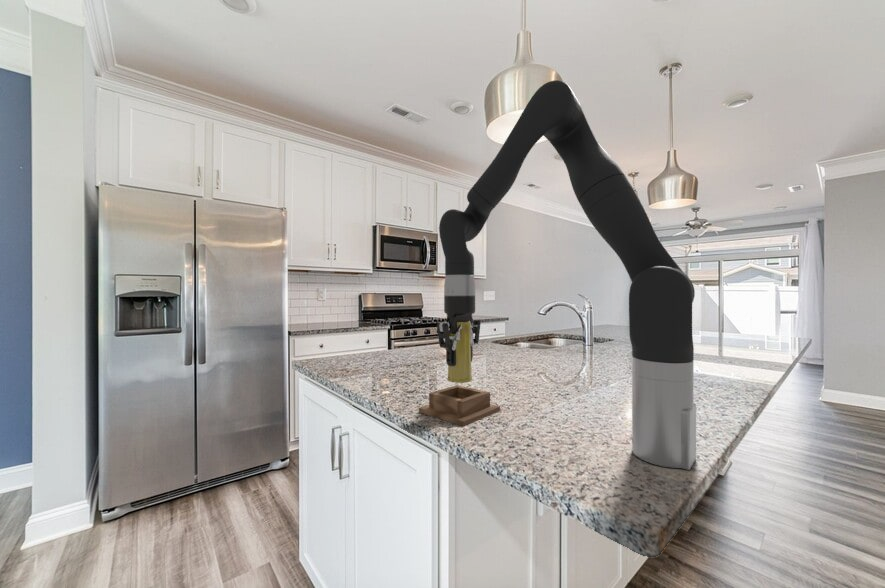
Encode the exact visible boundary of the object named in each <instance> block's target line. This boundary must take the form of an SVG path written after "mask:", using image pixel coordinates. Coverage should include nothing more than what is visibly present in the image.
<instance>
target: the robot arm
mask: <svg viewBox="0 0 885 588" xmlns="http://www.w3.org/2000/svg"><path fill="white" fill-rule="evenodd" d="M543 136H544V138H545V139H546V140H548V141H549V143H550V145H552V147H553V148H554V149H555V151H556V152H557V154H558V155H559V156H560V158H561V159H562V162H563V163H564V165H565V168H566V170H567V173H568V177H569V181H570V184H571V187H572V190H573V192H574V195H575V197H576V200H577V201H578V203H579V205H580V206H581V209H582V210H583V211H584V213H585V216H586V217H587V219H588V220H589V222H590V224H592V226H593V228H594V229H595V230H596V231H597V233H598V234H599V235H600V237H601V238H602V239H603V240H604V241H605V242H606V243H607V245H608V246H609V247H610V248H611V249H612V250H613V252H615V254H616V255H617V256H618V258H619V260H620V261H621V263H622V264H623V267H624V268H625V271H626V272H627V274H628V276H629V279H630V281H631V285H630V287H629V293H628V319H629V320H628V324H629V326H628V327H629V341H630V344H631V349H632V350H631V351H632V352H631V355H632V356H631V365H632V366H631V376H632V377H631V379H632V380H631V381H632V382H631V383H632V384H631V385H632V386H631V388H632V389H631V393H632V394H631V395H632V396H631V399H632V400H631V416H632V417H631V418H632V419H631V422H632V423H631V433H632V434H631V435H632V436H631V445H632V446H631V447H632V448H631V449H632V453H633V454H634V456H636V457H637V458H638V459H640V460H642V461H644V462H646V463H648V464H649V463H650V464H652V465H655V466H660V467H664V468H672V469H673V468H676V469H684V470H687V471H690V470H691V468H692V467H693V465H694V463H695V461H696V458H697V404H696V403H695V402H694V359H695V358H694V351H695V349H694V339H693V302H694V300H695V286H694V284H693V281H692V280H691V279H690V277H689V276H688V275H687V274H686V273H685V272H684V271H683V270H682V268H681V267H680V266H679V265H678V264H677V263H676V261H675V260H674V259H673V257H672V256H671V255H670V253H669V252H668V251H667V249H666V248H665V246H664V244H662V243H661V240H660V239H659V238H658V235H657V233H656V232H655V230H654V228H653V226H652V223H651V221H650V218H649V216H648V214H647V212H646V210H645V208H644V205H643V204H642V202H641V200H640V198H639V197H638V195H637V193H636V191H635V189H634V187H633V185H632V183H630V180H628V178H627V176H626V174H625V173H624V171H623V170H622V169H621V167H620V166H619V165H618V163H617V162H616V161H615V159H614V158H613V157H612V156H611V155H610V154H609V153H608V152H607V151H606V150H605V149H604V147H602V146H601V144H600V143H599V141H598V139H597V138H596V137H595V134H594V133H593V130H592V129H591V126H590V124H589V122H588V119H587V117H586V114H585V112H584V110H583V107H582V105H581V103H580V100H579V99H578V98H577V96H576V95H575V92H574V91H573V90H572V88H571V87H570V85H569V84H568V83H566V82H565V81H563V80H550V81H548V82H546V83H544V84H543V85H541V86H540V87H539V88H538V89H537V90H536V91H535V92H534V93H533V95H532V97H531V98H530V99H529V101H528V102H527V104H526V106H525V108H524V109H523V111H522V112H521V114H520V116H519V118H518V120H517V121H516V123H515V125H514V126H513V128H512V129H511V131H510V132H509V135H508V136H507V138H506V140H505V141H504V143H503V144H502V146H501V148H500V149H499V151H498V153H497V154H496V156H495V157H494V158H493V160H492V162H490V164H489V165H488V167H487V168H486V169H485V170H484V172H483V173H482V174H481V176H479V178H478V179H477V181H476V182H475V183H474V184H473V185H472V187H471V188H470V189H469V191H468V192H467V195H466V200H467V202H468V205H467V206H466V209H465V210H464V211H462V210H459V209H453V208H452V209H451V208H450V209H448V210H446V211H445V212H444V213H443V214H442V216H441V218H440V221H439V225H438V229H439V230H438V231H439V237H440V243H441V247H442V251H443V252H442V253H443V255H444V259H445V260H444V263H445V264H444V265H445V266H444V270H445V271H444V272H445V273H444V284H443V289H444V290H443V295H444V297H443V299H444V300H443V306H444V307H443V309H444V310H443V311H444V313H445V314H446V319H445V321H443V322H437V324H436V329H437V337H438V343H439V345H438V346H439V347H440V348H442V349H445V351H446V352H445V353H446V354H445V355H446V356H445V358H446V360H445V361H446V362H445V363H446V364H447V367H448V366H455V365H456V350H455V349H456V345H457V342H458V341H459V340H460V329H462V323H461V324H460V325H459V326H458V328H457V322H468V321H470V345H471V363H472V362H473V357H474V356H473V353H474V352H473V349H474V347H475V345H477V344H478V345H479V341H480V332H481V331H480V329H481V320H480V319H473V314H475V313H476V281H475V257H474V254H473V252H472V251H470V250H469V249H468V247H467V243H468V242H470V241H472V240H474V239H475V238H476V237H477V236H478V235H479V234H480V233H481V231H482V229H484V226H485V224H486V223H487V221H488V218H489V217H490V214H491V212H492V211H493V209H494V208H496V206H497V205H498V204H499V203H500V202H501V201H502V200H503V199H504V197H505V196H506V195H507V193H508V192H509V191H510V189H511V188H512V187H513V185H514V184H515V181H516V179H517V177H518V174H519V173H520V170H521V167H522V166H523V164H524V161H525V160H526V158H527V157H528V155H529V153H530V151H531V150H532V149H533V147H534V146H535V145H536V143H538V141H539V140H540V139H542V138H543ZM450 333H452V334H456V335H455V336H454V337H453V336H450V335H449V334H450ZM451 340H453V341H452V345H451V344H450V343H451Z"/></svg>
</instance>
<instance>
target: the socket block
mask: <svg viewBox="0 0 885 588" xmlns="http://www.w3.org/2000/svg"><path fill="white" fill-rule="evenodd" d="M418 412H419V413H421V414H425V415H427V416H430V417H434V418H437V419H440V420H443V421H446V422H449V423H453V424H455V425H459V426H461V427H465V426H467V425H470V424H472V423H475V422H478V421H479V420H481V419H484V418H486V417H489V416H491V415H493V414H495V413H497V412H501V405H500V406H499V405H496V404H492V403H491V391H487V390H481V389H478V388H477V389H476V388H471V387H467V386H462V385H459V384H457V385H453V386H449V387H446V388H442V389H438V390H435V391H433V392H429V394H428V404H426V405H423V406H420V407H418Z"/></svg>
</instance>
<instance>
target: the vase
mask: <svg viewBox="0 0 885 588" xmlns="http://www.w3.org/2000/svg"><path fill="white" fill-rule="evenodd" d="M461 323H462V329H460V340H459V341H458V342H457V345H456V349H455V350H456V365H455V366H448V365H447V369H448V370H447V378H446V380H447V381H448V382H450V383H457V384H464V383H469V382H472V380H473V375H472V374H473V373H472V362H471V345H470V321H468V322H457V328H458V326H459V325H460V324H461ZM449 335H450V336H453V337H454V336H455V335H456V334H452V333H450V334H449ZM452 341H453V340H451V343H450V344H451V345H452Z"/></svg>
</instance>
